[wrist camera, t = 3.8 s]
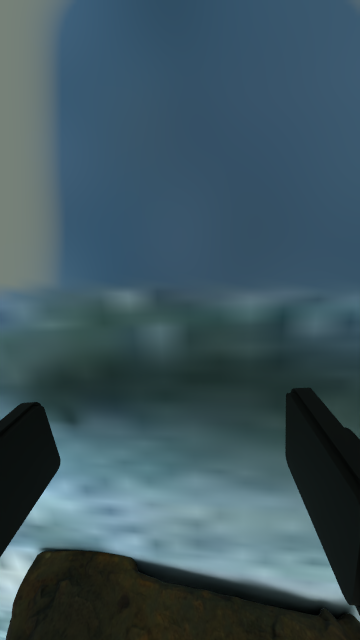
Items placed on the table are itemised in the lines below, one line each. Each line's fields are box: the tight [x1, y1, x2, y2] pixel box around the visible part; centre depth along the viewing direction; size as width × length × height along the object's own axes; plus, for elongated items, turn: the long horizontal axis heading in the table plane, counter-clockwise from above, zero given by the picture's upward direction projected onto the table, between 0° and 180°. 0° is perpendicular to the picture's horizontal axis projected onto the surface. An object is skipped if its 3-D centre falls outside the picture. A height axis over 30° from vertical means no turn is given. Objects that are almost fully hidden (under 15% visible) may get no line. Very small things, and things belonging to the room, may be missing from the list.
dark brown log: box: [6, 550, 360, 640], centre depth 12 cm, size 19×4×5 cm, turn 76°
